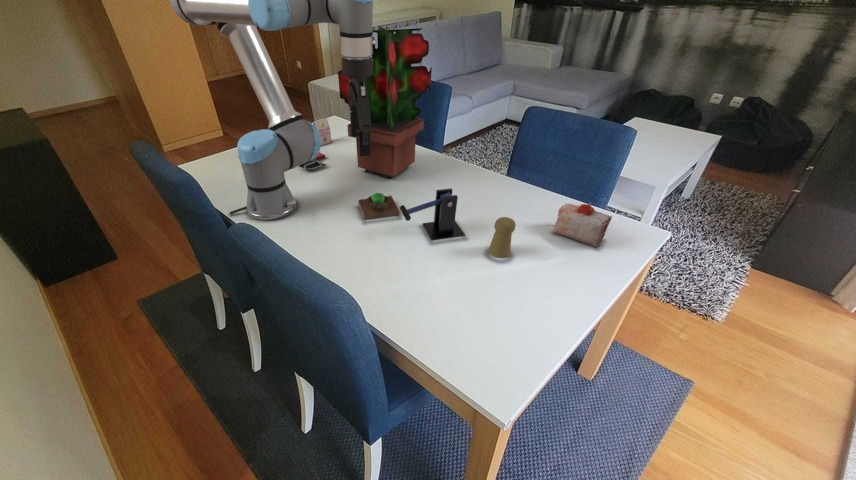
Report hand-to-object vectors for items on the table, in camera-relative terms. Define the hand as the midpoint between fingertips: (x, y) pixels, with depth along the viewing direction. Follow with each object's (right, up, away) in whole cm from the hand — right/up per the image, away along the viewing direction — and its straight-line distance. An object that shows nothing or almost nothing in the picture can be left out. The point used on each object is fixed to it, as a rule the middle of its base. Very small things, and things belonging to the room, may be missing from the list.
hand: (360, 145), depth 104 cm
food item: (+62, -24, +7) cm, 67 cm away
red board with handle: (-28, +13, +51) cm, 60 cm away
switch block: (+4, -15, +18) cm, 24 cm away
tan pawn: (+38, -30, 0) cm, 48 cm away
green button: (+4, -12, +15) cm, 20 cm away
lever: (+19, -17, +2) cm, 25 cm away
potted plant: (+7, +6, +43) cm, 43 cm away
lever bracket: (+24, -23, +9) cm, 34 cm away
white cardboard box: (-21, +23, +63) cm, 71 cm away
